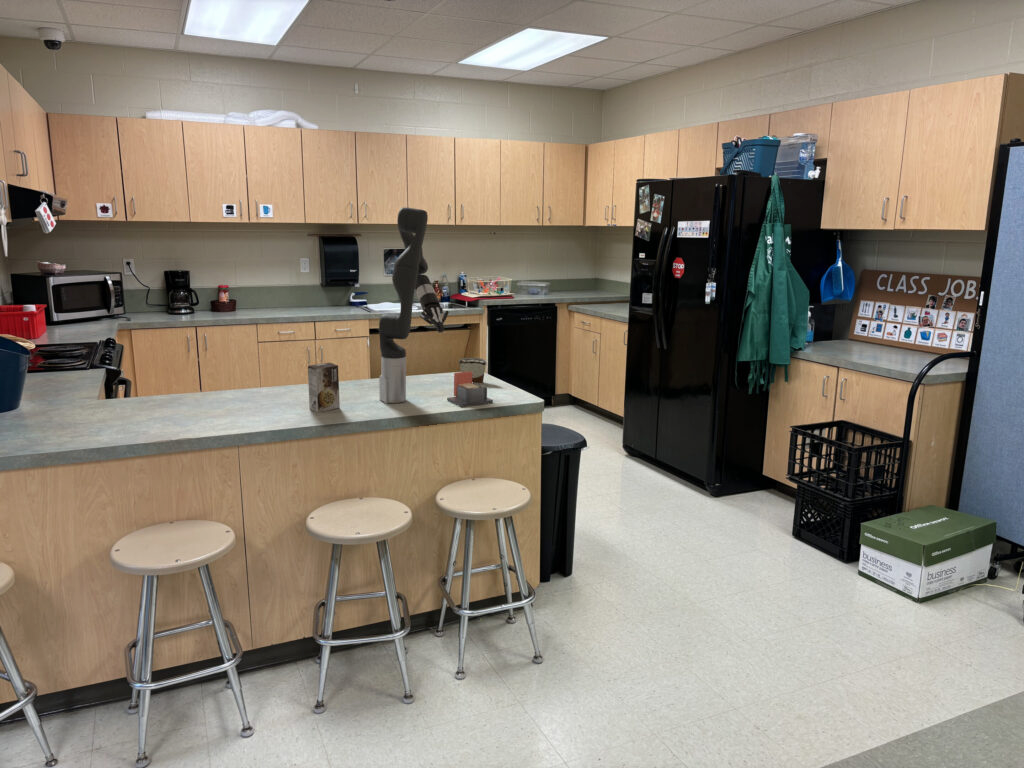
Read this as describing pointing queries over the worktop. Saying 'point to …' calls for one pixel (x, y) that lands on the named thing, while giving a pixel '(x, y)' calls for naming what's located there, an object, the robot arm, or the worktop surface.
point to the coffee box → (323, 387)
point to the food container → (474, 368)
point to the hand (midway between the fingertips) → (441, 331)
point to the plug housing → (470, 396)
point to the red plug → (463, 381)
